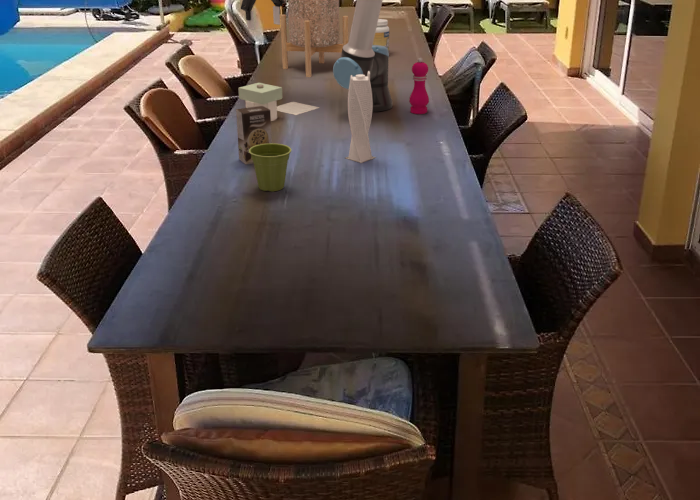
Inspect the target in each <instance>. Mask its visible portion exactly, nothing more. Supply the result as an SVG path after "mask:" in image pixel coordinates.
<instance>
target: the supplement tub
mask: <svg viewBox="0 0 700 500" xmlns="http://www.w3.org/2000/svg"><path fill="white" fill-rule="evenodd" d="M388 25H389V21H388V19H383V18H378V23H377V27H376V32H375V36H374V40H373V45H380V46H385V47H387V48H388V55H390V27H389V26H388Z"/></svg>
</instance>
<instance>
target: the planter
mask: <svg viewBox="0 0 700 500" xmlns="http://www.w3.org/2000/svg"><path fill="white" fill-rule="evenodd" d="M287 2H288V28H289V29H288V30H289V42H288V35H287V34H288V33H287V32H288V31H287V15H286V14H280V34H281V35H280V36H281V37H280V40H281V41H280V42H281V61H282V62H281V64H282V69H283V70H288V69H289V57H288V55H289V54H288V52H304V56H305V57H304V59H305V60H304V61H305V77H306V78H311V77H312V56H314V54H316V53H318V63H319V64H325V53H340V54H342V49H343V46H344V45H346V44H347V43H348V41H349V16H348V15H343V16H342V43H339V42H340V0H288V1H287Z"/></svg>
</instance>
